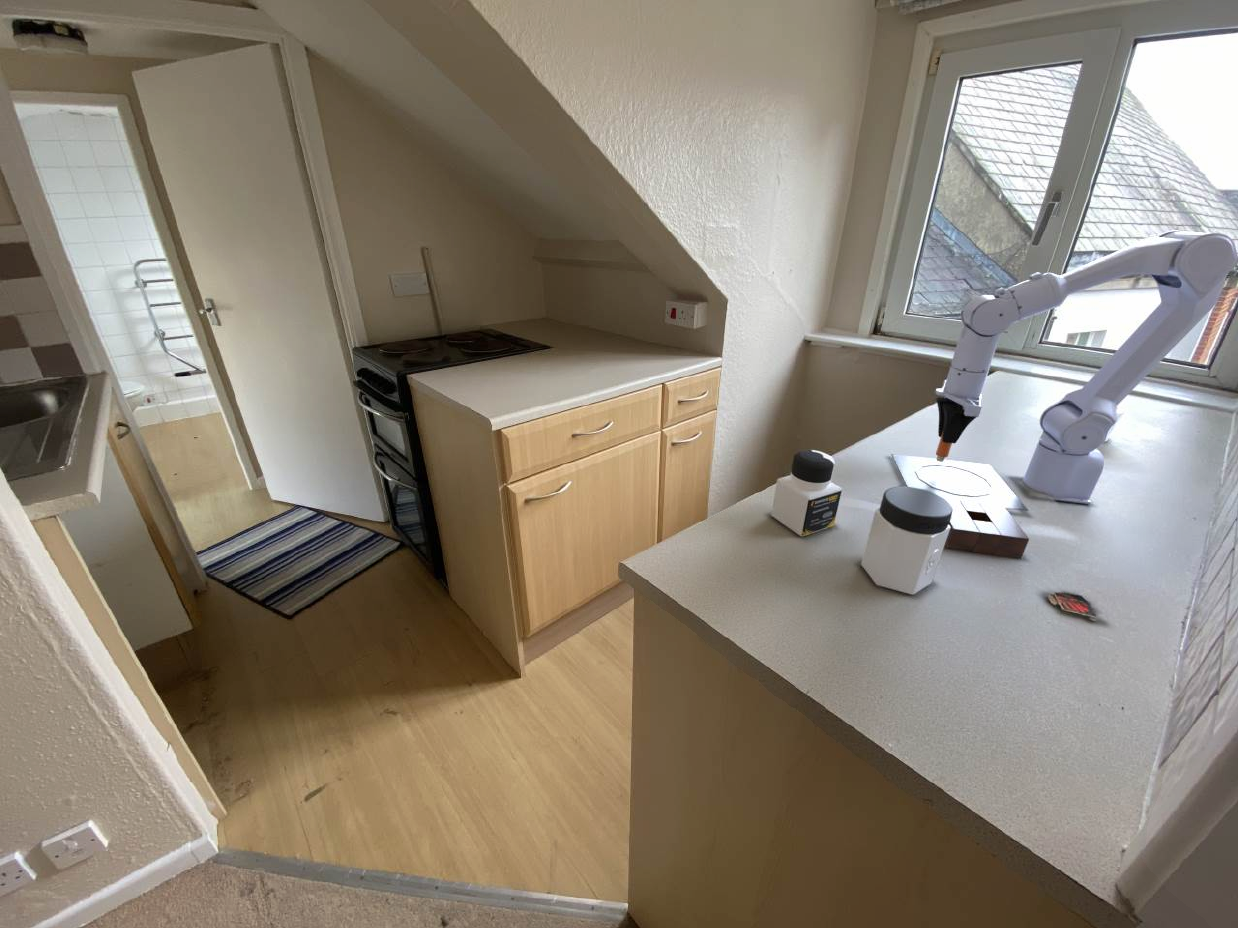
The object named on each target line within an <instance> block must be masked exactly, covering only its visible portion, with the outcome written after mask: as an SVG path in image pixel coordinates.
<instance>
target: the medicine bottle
mask: <svg viewBox="0 0 1238 928" xmlns="http://www.w3.org/2000/svg"><path fill="white" fill-rule="evenodd" d="M792 458H793V459H792V463H791V464H792V465H791V468H790V469H791V470H790V474H789V475H786V476H783V477H778V478H777V479H776V484H775V490H774V497H773V502H772V507H771V517H772V518H774V519H775V520H776V521H778V522H780V523H781V524H782V525H784V526H785V527H786V528H788V529H790V530H791V531H792V532H794V533H796V534H797V535H798V536H800V537H805V536H808V535H811V534H814V533H817V532H820V531H823V530H826V529H829V528H832V527H834V525H835V522H836V517H837V513H838V509H839V504H840V501H841V496H842V492H843V488H842V487H841V486H838V485H836V483H833V482H832V478H833V473H834V469H835V466H836V465H835V464H836V462H835V459H834V458H833V457H832V456H831V455H829V454H828V453H825V452H823V451H820V450H815V449H804V450H799V451H798V452H796V453H795V454H794V455H793V457H792Z"/></svg>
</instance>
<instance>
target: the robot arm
mask: <svg viewBox="0 0 1238 928" xmlns="http://www.w3.org/2000/svg"><path fill="white" fill-rule="evenodd" d="M1237 265H1238V251H1237V246H1236V244H1235V241H1234V239H1233V238H1231V237H1230V236H1229V235H1227V234H1225V233H1223V232H1222V233H1221V232H1192V231H1185V230H1181V229H1175V230H1173V229H1172V230H1169V231H1165V232H1162V233H1160V234H1158V235H1157V236H1151V237H1146V238H1144V239H1141V240H1140V241H1136V242H1135V243H1133V244H1132V245H1129V246H1126V247H1124V248H1122V249H1119V250H1117V251H1115V252H1113V253H1111V254H1108V255H1106V256H1103V257H1100V258H1099V259H1096V260H1094V261H1092V262H1091V261H1090V262H1089V263H1087V264H1084V265H1082V266H1080V267H1078V268H1075V269H1073V270H1070V271H1068V272H1066V273H1063V274H1061V275H1058V274H1055V273H1052V272H1045V273H1041V272H1035V273H1032V274H1030V275H1028V279H1027V280H1025V281H1022V282H1019V283H1017V284H1015V285H1012V286H1009V287H1007V288H1004V287H1000V288H999V287H998V288H996V289H995V290H994V294H993V295H990V294H988V295H987V294H983V295H979V296H976V297H974V298H972V299H971V300H970V301H969V303H966V305H965V306H964V309H962V310H961V311H960V320H961V322H962V324H963V325H962V328H961V332H960V334H959V337H958V340H957V342H956V346H955V350H954V353H953V356H952V358H951V359H952V360H951V364H950V367H949V369H948V373H947V377H946V379H944V380H943V382H942V386H941V388H935V391H934V392H935V394H936V395H937V396H939V397H936V399H935V400H936V404H937V409H938V410H937V411H938V430H937V431H938V432H937V433H938V437H939V438H941V435H942V441H943V442H945V443H952V444H957V442H958V440H959V439H960V437H961V436H962V434H963V432H964V431H965V430H966V428H968V426H969V425H970V424H971V423H972V422H973V421H974V420H975V419H977V418H979V416H980V414H981V411H982V407H983V406H982V405H981V401H982V396H983V395H982V392H983V390H984V389H983V388H984V386H985V382H986V380H987V377H988V374H989V371H990V368H991V366H992V361H993V359H994V356H995V354H996V353H995V352H996V350H997V346H998V343H999V340H1000V337H1001V334H1003V333H1004V332H1005V331H1007V330H1008V329H1009V328H1010V326H1011V325H1012V324H1015V323H1018V322H1021V321H1023V320H1025V319H1029V318H1031V317H1034V316H1038V315H1039V314H1043V313H1045V312H1048V311H1051V310H1054V309H1056V308H1059V307H1060V306H1061V305H1063V303H1064V302H1065V300H1066V299H1067V298H1068V297H1069V295H1072V294H1075V293H1078V292H1082V291H1084V290H1085V291H1086V290H1088V289H1091V288H1093V287H1098V286H1100V285H1103V284H1105V283H1109V282H1112V281H1115V280H1117V279H1121V278H1124V277H1127V276H1130V275H1136V274H1137V275H1149V276H1150V277H1151V279H1152V280H1153V281H1154V282H1155V283H1156V285H1157V290H1158V293H1159V297H1160V303H1159V304H1158V305H1157V306H1156V307H1155V308H1154V310H1153V311H1152V312H1151V313H1150V314H1149V315H1148V316H1147V317H1146V318H1145V319H1144V321H1142V323H1141V324H1139V326H1138V327H1137V328H1136V329H1135V330H1134V331H1133V332H1132V334H1131V335H1130V336H1129V337H1128V338H1127V339H1126V340H1125V341H1124V342H1123V344H1121V345H1120V347H1118V349H1117V350H1116V351H1115V352H1114V353H1113V354H1112V355H1111V356H1110V358H1109V359H1107V361H1106V362H1105V363H1104V364H1103V365H1102V366H1101V367H1100V368H1099V369H1098V371H1097V372H1095V374H1094V375H1093V376H1092V377H1091V378H1090V379H1089V380H1088V381H1087V382H1086V384H1085V385H1084V386H1083V387H1082V388H1079V389H1077V390H1074V391H1071V392H1068V393H1067V394H1065V396H1064V397H1062V399H1060V400H1059V401H1057V402H1056V403H1053V404H1052V405H1050V406H1048V407H1047V408H1045V410H1043V412H1042V413H1041V414H1040V417H1039V426H1040V429H1041V430H1042V433H1041V435H1040V437H1039V439H1038V442H1037V444H1036V446H1035V448H1034V452H1033V454H1032V457H1031V459H1030V461H1029V463H1028V467H1027V469H1026V472H1025V474H1024V476H1023V478H1022V482H1023V484H1024V485H1025V486H1027V487H1028V488H1030V489H1032V490H1034V491H1036V492H1039V493H1042V494H1046V495H1049V496H1050V497H1051V498H1052V499H1053V501H1058V502H1059V501H1060V502H1069V503H1077V504H1084V505H1090V504H1091V503H1092V501H1091V500H1090V498H1091V496H1092V494H1093V492H1094V490H1095V488H1096V486H1097V484H1098V481H1099V479H1100V477H1101V474H1102V473H1103V471H1104V465H1105V459H1104V455H1103V454H1102V452H1101V451H1100V450H1098V449H1099V448H1101V447H1102V445H1103V444H1104V443H1105V442H1106V441H1105V440H1106V437H1107V434H1108V431H1109V430H1110V428H1111V427H1112V426H1113V425H1114V424H1115V423H1116V420H1117V408H1118V406H1119V405H1120V404H1121V402H1123V400H1125V398H1126V397H1127V396H1128V395H1129V394H1130V393H1131V392H1132V391H1133V390H1134V389H1135V388H1136V387H1137V386H1138V385H1139V384H1140V383H1141V382H1142V381H1143V380H1144V379H1145V378H1147V376H1148V375H1149V374H1150V373H1151V372H1152V371H1153V370H1154V369H1155V367H1157V366H1158V365H1159V364H1160V363H1161V361H1163V359H1165V358H1166V356H1167V355H1169V354H1170V352H1171V351H1172V350H1173V349H1174V348H1175V347H1176V346H1177V345H1178V344H1180V342H1181V341H1182V340H1183V339H1184V338H1185V337H1186V336H1187V335H1188V334H1189V333H1190V332H1191V331H1192V330H1193V329H1194V328H1195V327H1196V326H1197V325H1198V324H1199V322H1201V321H1202V320H1203V319H1204V318H1205V316H1207V315H1208V314H1209V312H1210V311H1211V310H1212V309H1213V308H1214V307H1215V305H1216V304H1217V302H1218V300H1219V298H1220V294H1221V292H1222V289H1223V287H1224V284H1225V281H1226V278H1227V276H1228V274H1229V273H1230V272H1231V271H1232V270H1233V269H1234V268H1235V267H1236V266H1237ZM942 432H943V434H942Z"/></svg>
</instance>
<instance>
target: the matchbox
mask: <svg viewBox="0 0 1238 928" xmlns="http://www.w3.org/2000/svg"><path fill="white" fill-rule="evenodd" d="M1046 597H1047V600H1049V601H1050V603H1051V604H1052V605H1054V606H1057V605H1059V606H1060V609H1061V610H1062V611H1065V612H1072V613H1074V614H1079V615H1083V616H1089V617H1090V618H1089V620H1091V621H1092V622H1094V621H1095V622H1100V619H1097V618H1099V615H1098V614H1097V611H1096V610H1095V609H1094V608H1093V607H1092V604H1091V602H1089V601H1088V600H1087V599H1085V598H1084V597H1083V595H1080V594H1076V593H1070V592H1065V591H1063V592H1062V591H1061V592H1059V591H1058V592H1057V591H1053V594H1047V595H1046ZM1091 617H1093V618H1091Z"/></svg>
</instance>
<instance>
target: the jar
mask: <svg viewBox="0 0 1238 928" xmlns="http://www.w3.org/2000/svg"><path fill="white" fill-rule="evenodd" d="M952 512H953V509H952V506H951V505H950V503H949V502H948V501H946V500H945V499H944V498H942V497H940V496H939V495H937V494H934V493H932V492H929V491H926V490H923V489H919V488H914V487H907V486H893V487H890V488H888V489H886V490H885V491H884V492H883V495H882V499H881V503H880V506H879V508H877V509H875V511H874V515H873V518H872V522H871V526H870V530H869V533H868V538H867V541H866V544H865V548H864V552H863V556H862V559H861V563H860V566H861V567H862V568H863V569H864V570H865V572H866V573H867V575H868V576H869V577H870V578H871V580H872V581H873V583H874V584H875V585H876V586H878V587H882V588H885V589H886V588H887V589H890V590H893V591H896V592H897V591H898V592H901V593H904V594H908V595H910V596H911V595H912V596H914V595H916V594H917V593H918V592H920V591H922V590H923V589H924V588H926V587H928V586H929V585H930V584H932V582H933V580H934V577H935V573H936V571H937V567H938V565H939V562H940V559H941V556H942V553H943V550H944V548H945V546H946V545H945V542H946V539H947V537H948V534H949V531H950V528H951V527H950V526H949V525H948V524H949V523H950V520H951V516H952Z"/></svg>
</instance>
